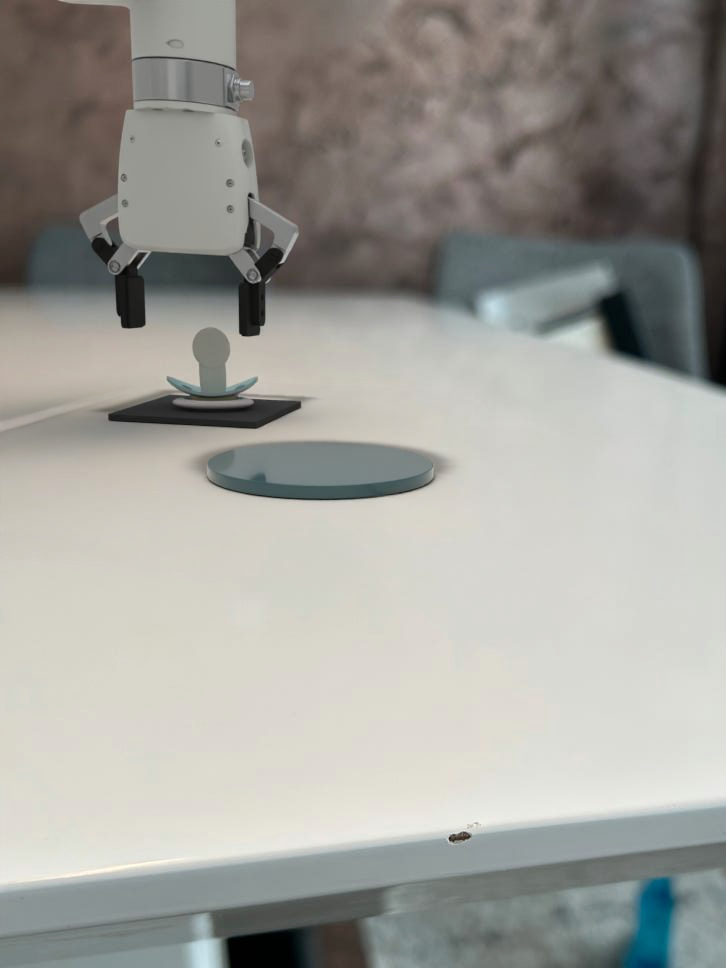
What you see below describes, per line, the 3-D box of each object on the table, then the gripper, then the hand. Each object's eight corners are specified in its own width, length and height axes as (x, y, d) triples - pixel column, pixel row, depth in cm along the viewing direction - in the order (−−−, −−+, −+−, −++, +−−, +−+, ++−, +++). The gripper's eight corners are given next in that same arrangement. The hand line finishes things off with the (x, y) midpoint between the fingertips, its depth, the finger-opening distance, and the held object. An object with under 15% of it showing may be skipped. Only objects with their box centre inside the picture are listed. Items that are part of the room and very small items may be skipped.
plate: (170, 490, 64) (169, 477, 63) (251, 449, 77) (250, 437, 76) (409, 505, 62) (409, 491, 62) (450, 460, 75) (450, 448, 75)
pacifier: (259, 414, 89) (258, 401, 94) (256, 334, 87) (255, 325, 92) (165, 414, 88) (169, 401, 93) (160, 333, 85) (164, 324, 91)
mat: (108, 420, 86) (107, 413, 86) (169, 400, 97) (169, 394, 97) (256, 428, 85) (256, 421, 85) (301, 406, 96) (301, 401, 96)
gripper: (311, 107, 85) (310, 336, 91) (98, 97, 87) (109, 323, 92) (282, 91, 78) (282, 341, 83) (50, 81, 80) (65, 326, 85)
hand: (191, 331), depth 88 cm, fingers open, 9 cm apart
